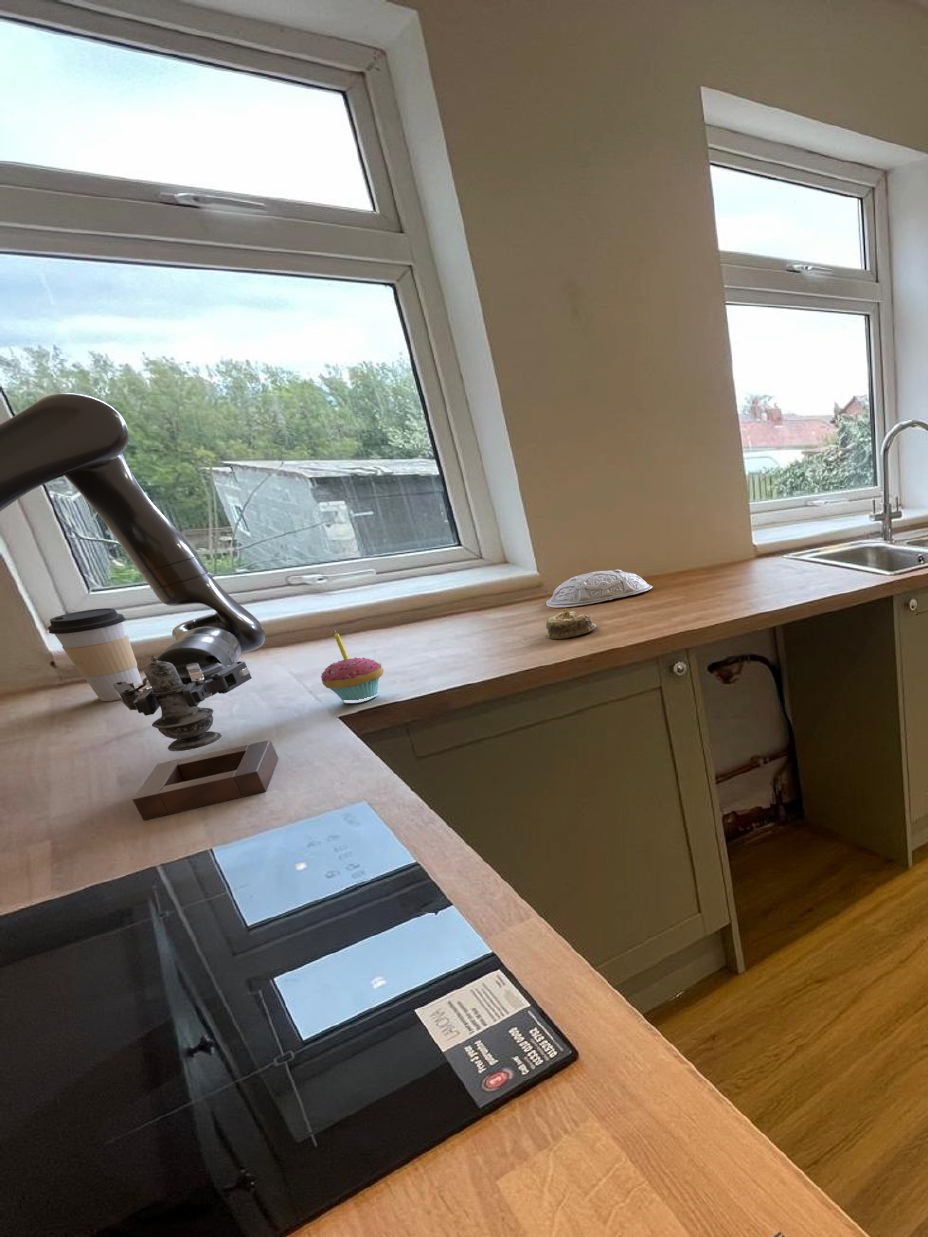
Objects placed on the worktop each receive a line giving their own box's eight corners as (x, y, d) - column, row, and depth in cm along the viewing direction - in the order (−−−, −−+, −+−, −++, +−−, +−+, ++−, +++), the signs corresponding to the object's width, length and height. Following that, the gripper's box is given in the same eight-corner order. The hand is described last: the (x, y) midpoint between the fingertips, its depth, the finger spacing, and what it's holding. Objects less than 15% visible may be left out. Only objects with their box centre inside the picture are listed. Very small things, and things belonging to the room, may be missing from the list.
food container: (540, 596, 189) (535, 569, 186) (644, 583, 203) (641, 559, 200) (552, 615, 178) (547, 588, 175) (661, 601, 191) (659, 575, 188)
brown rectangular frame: (143, 820, 95) (131, 799, 94) (167, 783, 104) (157, 763, 103) (266, 791, 101) (256, 771, 99) (278, 758, 110) (270, 739, 109)
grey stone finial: (222, 728, 104) (183, 644, 99) (226, 741, 100) (185, 654, 95) (164, 743, 100) (119, 656, 95) (165, 756, 96) (119, 667, 91)
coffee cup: (71, 704, 134) (27, 622, 128) (131, 684, 143) (92, 606, 137) (114, 706, 133) (71, 622, 127) (173, 685, 141) (135, 607, 135)
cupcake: (326, 700, 131) (299, 633, 126) (384, 686, 136) (361, 621, 131) (337, 713, 125) (310, 643, 120) (397, 697, 131) (373, 629, 126)
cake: (565, 644, 156) (557, 619, 154) (537, 638, 161) (528, 614, 159) (607, 627, 163) (599, 603, 161) (578, 622, 168) (570, 599, 166)
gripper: (116, 650, 103) (72, 689, 90) (250, 629, 110) (228, 662, 97) (142, 701, 107) (104, 746, 93) (271, 678, 113) (252, 716, 100)
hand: (167, 703), depth 95 cm, fingers closed on grey stone finial, 3 cm apart
